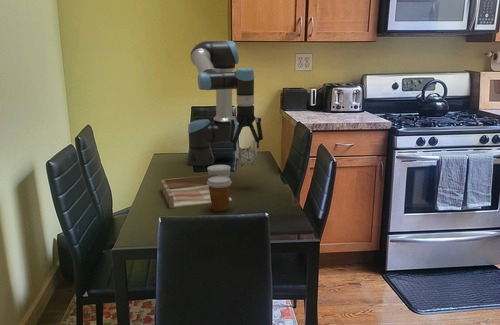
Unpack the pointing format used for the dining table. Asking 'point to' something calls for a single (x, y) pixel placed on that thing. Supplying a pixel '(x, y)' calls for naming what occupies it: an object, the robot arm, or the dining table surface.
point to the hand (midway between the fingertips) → (246, 156)
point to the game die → (246, 156)
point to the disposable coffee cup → (219, 192)
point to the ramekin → (219, 170)
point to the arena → (187, 191)
